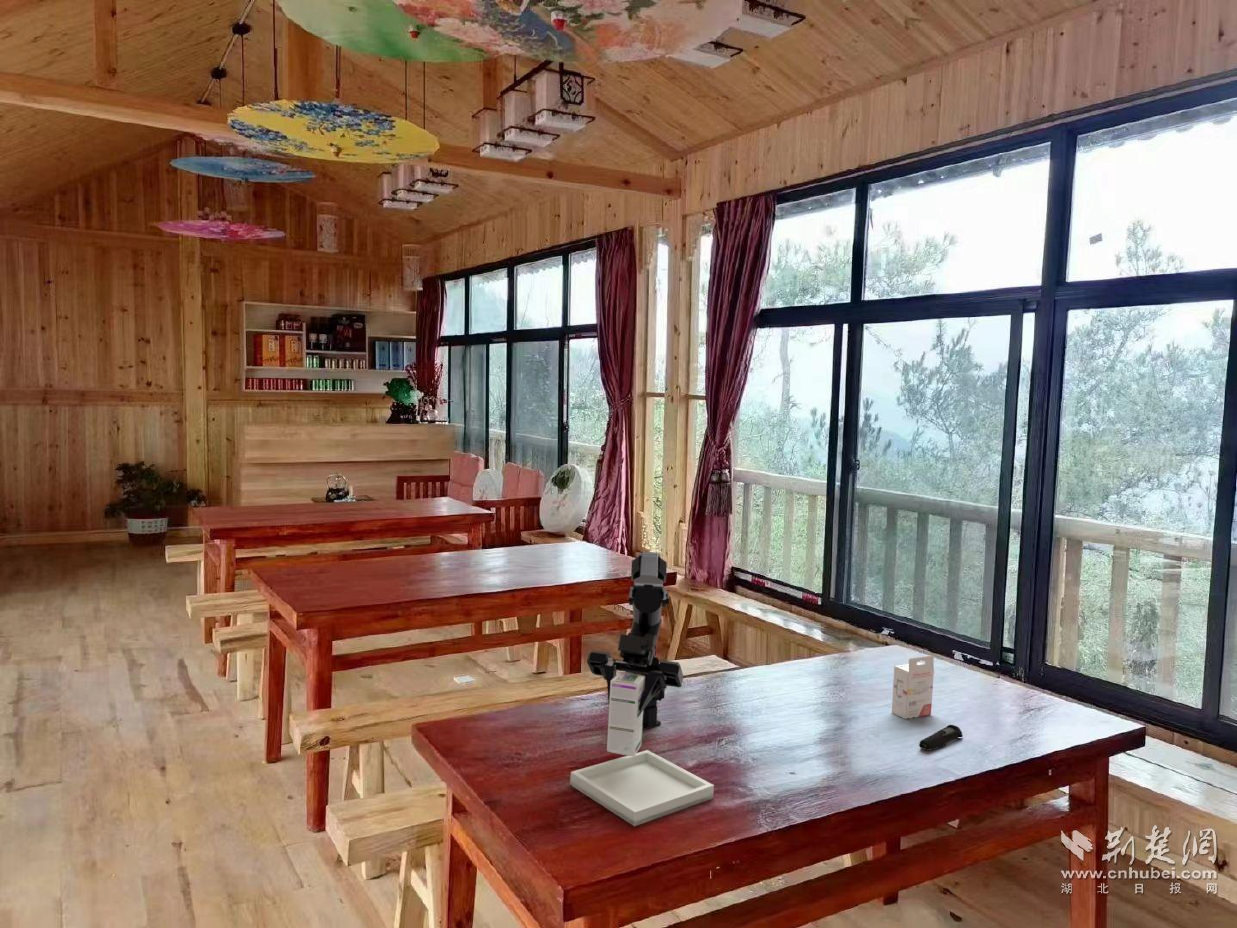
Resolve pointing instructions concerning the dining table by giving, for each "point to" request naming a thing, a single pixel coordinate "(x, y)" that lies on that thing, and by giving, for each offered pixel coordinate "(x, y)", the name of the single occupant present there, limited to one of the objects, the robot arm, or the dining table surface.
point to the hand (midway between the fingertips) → (624, 708)
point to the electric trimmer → (940, 737)
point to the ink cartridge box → (913, 688)
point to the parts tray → (641, 787)
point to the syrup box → (625, 713)
